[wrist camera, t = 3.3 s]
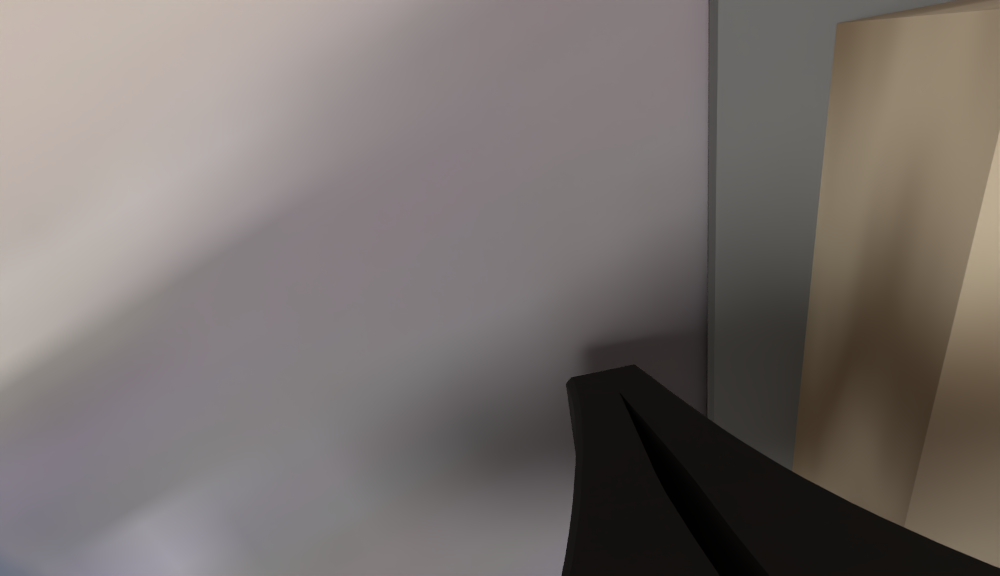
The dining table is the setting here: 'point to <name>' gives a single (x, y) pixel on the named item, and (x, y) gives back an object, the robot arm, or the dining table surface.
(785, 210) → the push mat
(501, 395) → the dining table surface
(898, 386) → the t block
